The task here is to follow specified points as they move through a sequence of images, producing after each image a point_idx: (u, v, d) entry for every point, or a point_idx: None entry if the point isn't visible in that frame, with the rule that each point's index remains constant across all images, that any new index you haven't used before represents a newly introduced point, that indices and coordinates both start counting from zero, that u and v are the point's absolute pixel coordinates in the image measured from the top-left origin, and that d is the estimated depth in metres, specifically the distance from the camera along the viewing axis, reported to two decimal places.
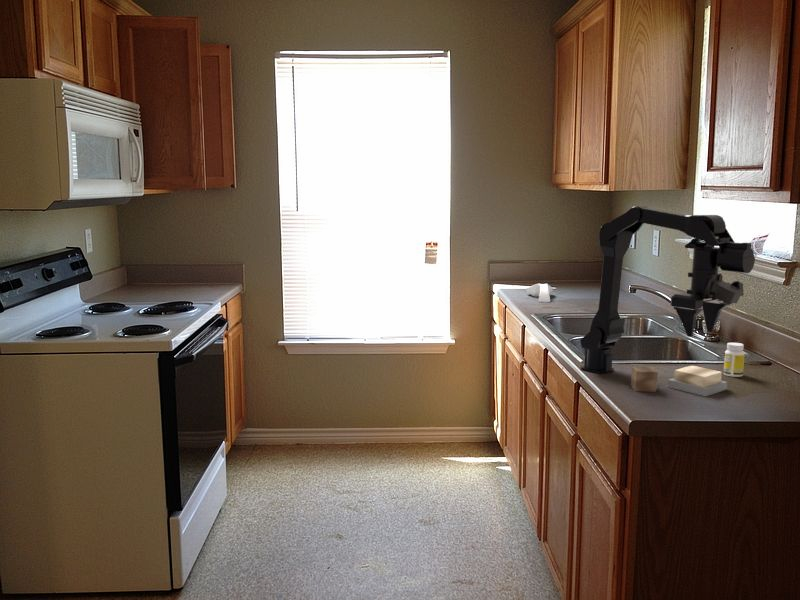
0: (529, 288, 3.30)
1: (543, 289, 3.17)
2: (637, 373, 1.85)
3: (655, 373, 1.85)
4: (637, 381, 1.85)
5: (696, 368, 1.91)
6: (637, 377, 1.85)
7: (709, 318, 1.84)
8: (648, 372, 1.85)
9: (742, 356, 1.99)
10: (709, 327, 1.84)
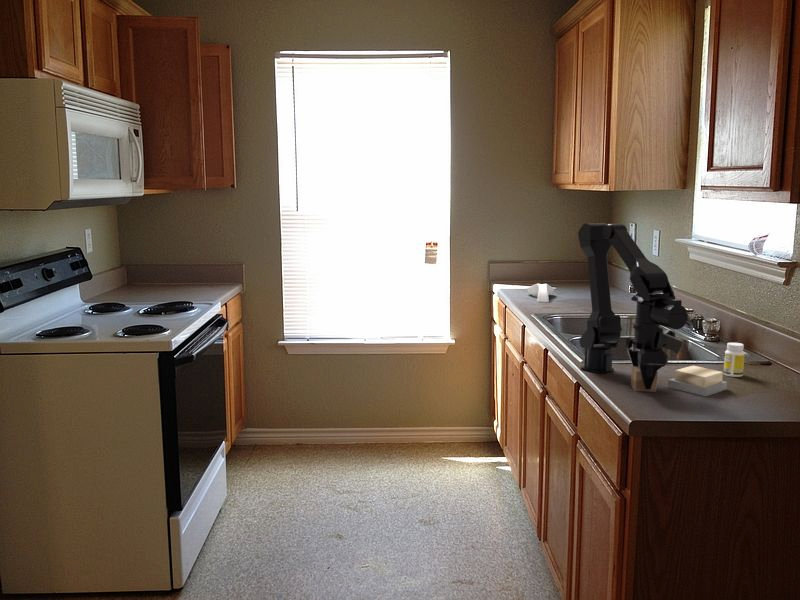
0: (529, 288, 3.30)
1: (542, 289, 3.17)
2: (637, 373, 1.85)
3: None
4: (637, 381, 1.85)
5: (697, 368, 1.90)
6: (637, 377, 1.85)
7: None
8: None
9: (742, 356, 1.99)
10: None
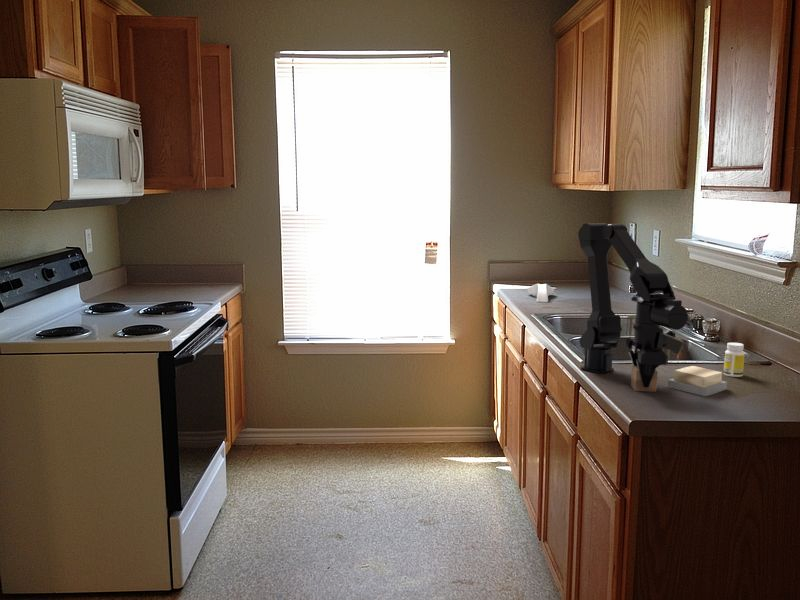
0: (529, 288, 3.30)
1: (541, 289, 3.17)
2: (637, 373, 1.85)
3: (655, 373, 1.85)
4: (637, 381, 1.85)
5: (696, 368, 1.90)
6: (637, 377, 1.85)
7: None
8: None
9: (742, 356, 1.99)
10: None
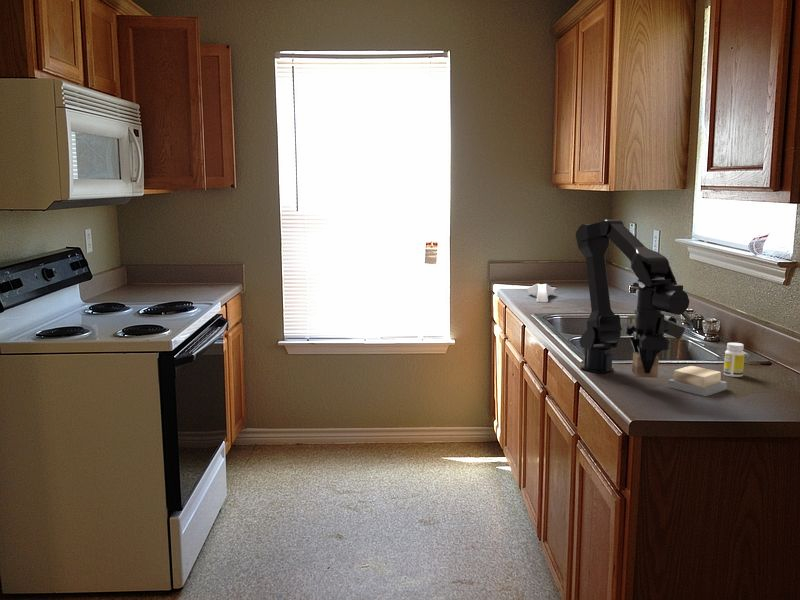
0: (529, 288, 3.30)
1: (541, 289, 3.17)
2: (638, 359, 1.84)
3: (656, 359, 1.84)
4: (638, 367, 1.85)
5: (695, 368, 1.91)
6: (638, 363, 1.85)
7: None
8: None
9: (742, 356, 1.99)
10: None
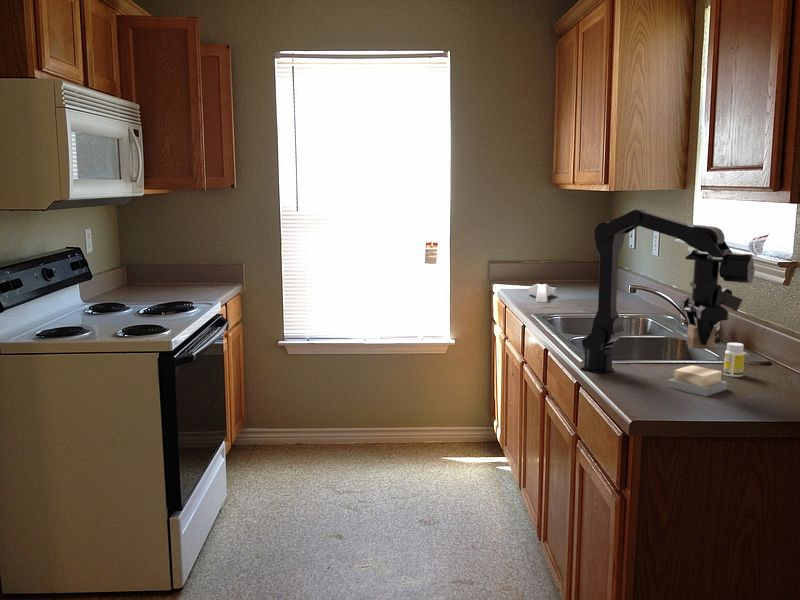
0: (529, 288, 3.29)
1: (541, 289, 3.17)
2: (695, 330, 1.84)
3: (713, 330, 1.84)
4: (695, 338, 1.85)
5: (696, 368, 1.91)
6: (695, 334, 1.84)
7: None
8: None
9: (742, 356, 1.99)
10: None
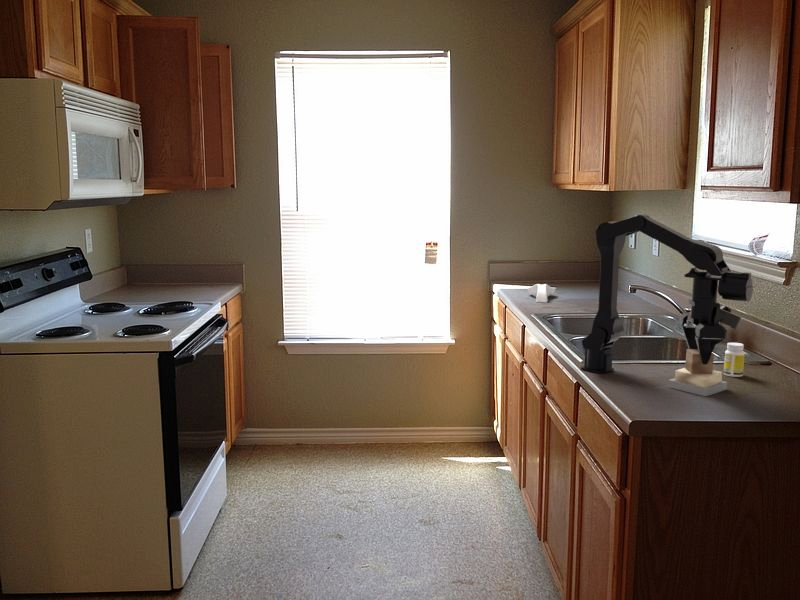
0: (530, 288, 3.29)
1: (541, 289, 3.16)
2: (693, 355, 1.85)
3: (711, 355, 1.85)
4: (693, 363, 1.85)
5: None
6: (693, 359, 1.85)
7: (693, 342, 1.92)
8: None
9: (742, 356, 1.99)
10: None
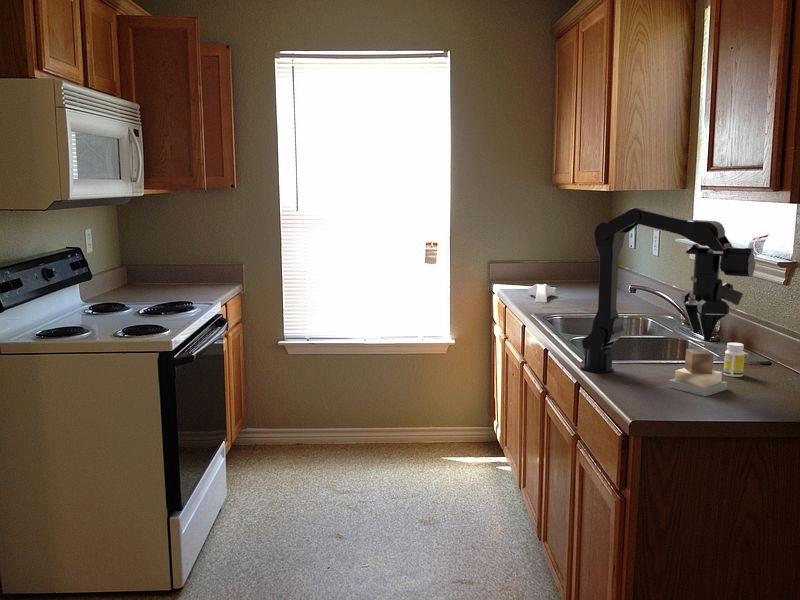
0: (530, 288, 3.29)
1: (540, 290, 3.16)
2: (693, 355, 1.85)
3: (711, 355, 1.85)
4: (693, 363, 1.86)
5: None
6: (693, 359, 1.85)
7: (695, 320, 1.91)
8: (704, 354, 1.85)
9: (742, 356, 1.99)
10: (696, 328, 1.91)
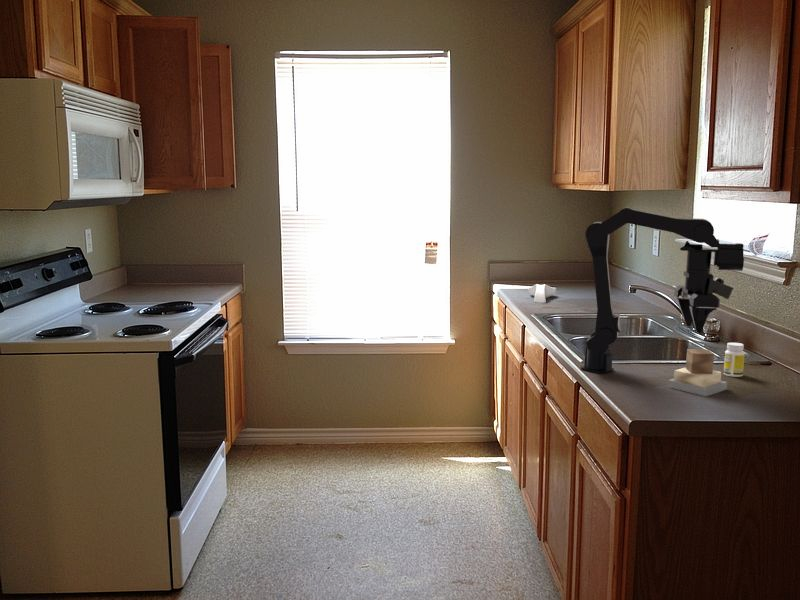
0: (530, 288, 3.29)
1: (539, 290, 3.16)
2: (693, 355, 1.85)
3: (711, 355, 1.85)
4: (693, 363, 1.86)
5: None
6: (693, 359, 1.85)
7: (687, 313, 2.00)
8: (704, 354, 1.85)
9: (742, 356, 1.99)
10: (688, 321, 2.00)
